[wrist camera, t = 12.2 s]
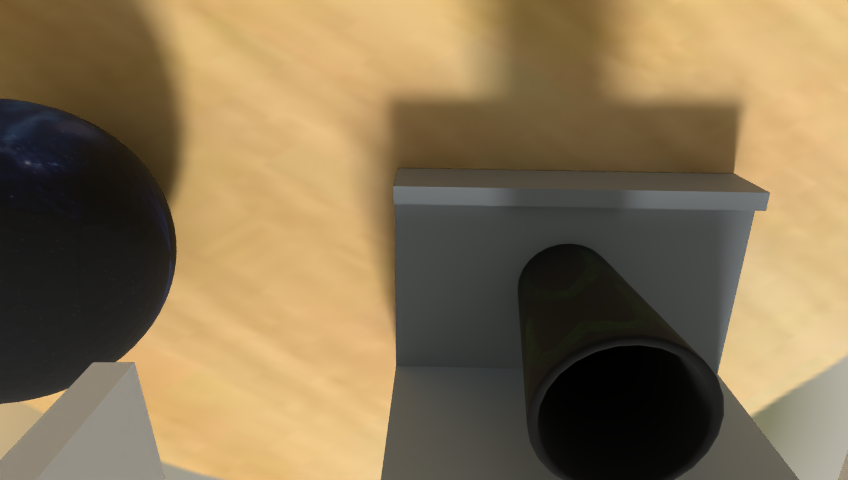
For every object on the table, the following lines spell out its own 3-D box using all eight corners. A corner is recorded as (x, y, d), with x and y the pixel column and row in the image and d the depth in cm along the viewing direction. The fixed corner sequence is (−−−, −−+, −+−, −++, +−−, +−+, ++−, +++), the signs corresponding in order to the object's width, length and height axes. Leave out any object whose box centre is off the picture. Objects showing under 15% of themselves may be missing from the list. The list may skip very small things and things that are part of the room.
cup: (647, 316, 34) (747, 461, 23) (528, 360, 36) (567, 518, 24) (605, 204, 32) (693, 307, 21) (479, 257, 33) (497, 380, 22)
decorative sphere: (190, 75, 33) (3, 117, 19) (236, 306, 38) (117, 472, 24) (-61, 90, 34) (-419, 141, 20) (19, 315, 39) (-217, 481, 25)
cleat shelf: (398, 167, 34) (371, 259, 21) (734, 173, 34) (915, 270, 21) (399, 359, 39) (378, 528, 26) (693, 367, 39) (819, 543, 26)
